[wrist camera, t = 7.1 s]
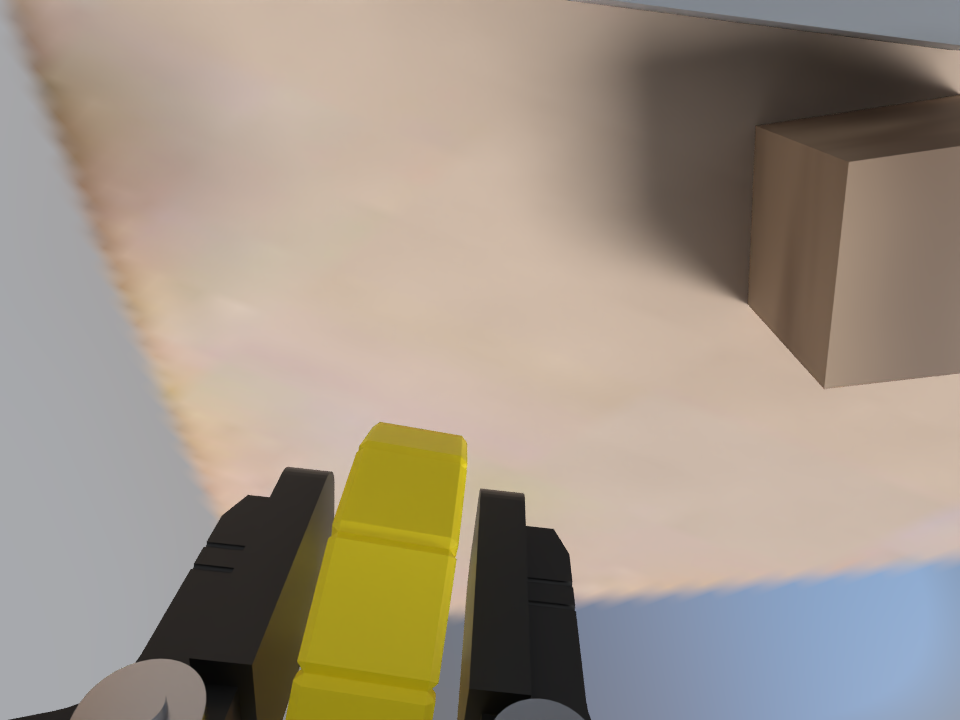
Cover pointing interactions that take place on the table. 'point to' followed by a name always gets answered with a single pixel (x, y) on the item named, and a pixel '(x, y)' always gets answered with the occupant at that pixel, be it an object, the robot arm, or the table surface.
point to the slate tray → (828, 17)
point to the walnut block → (861, 241)
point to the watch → (385, 582)
